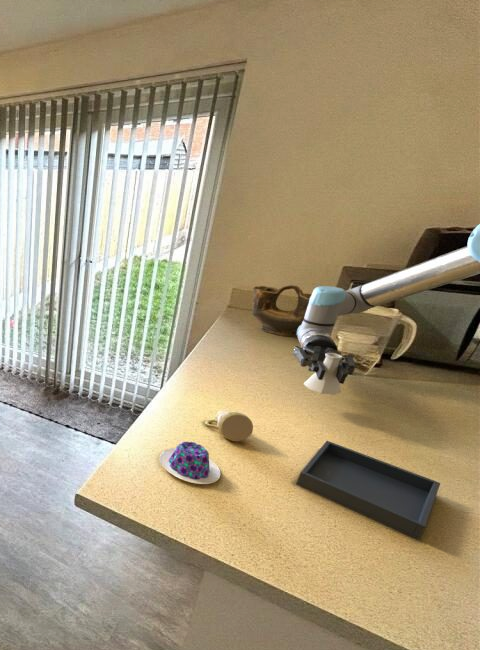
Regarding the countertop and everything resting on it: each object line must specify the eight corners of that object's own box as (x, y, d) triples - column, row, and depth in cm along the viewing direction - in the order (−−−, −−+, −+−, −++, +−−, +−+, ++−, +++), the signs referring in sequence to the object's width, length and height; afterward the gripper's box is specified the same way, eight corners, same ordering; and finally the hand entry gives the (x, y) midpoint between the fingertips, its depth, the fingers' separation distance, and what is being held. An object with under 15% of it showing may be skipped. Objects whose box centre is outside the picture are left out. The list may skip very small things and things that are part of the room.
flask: (297, 383, 109) (308, 350, 105) (321, 382, 109) (334, 349, 105) (320, 396, 102) (333, 361, 98) (346, 394, 102) (360, 360, 98)
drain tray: (433, 495, 78) (440, 482, 77) (417, 540, 69) (425, 526, 67) (321, 452, 91) (326, 440, 90) (295, 484, 82) (300, 472, 81)
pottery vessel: (238, 327, 168) (250, 281, 160) (248, 321, 174) (260, 277, 167) (311, 343, 150) (329, 293, 142) (319, 337, 156) (336, 288, 148)
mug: (233, 421, 104) (257, 403, 96) (233, 453, 98) (259, 437, 90) (204, 411, 105) (225, 392, 97) (203, 442, 100) (226, 425, 92)
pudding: (169, 484, 83) (173, 464, 81) (152, 449, 94) (156, 430, 91) (230, 489, 81) (236, 469, 79) (206, 452, 92) (211, 434, 90)
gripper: (350, 363, 114) (371, 398, 96) (280, 352, 123) (287, 382, 105) (359, 339, 111) (383, 370, 93) (287, 330, 120) (296, 356, 102)
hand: (332, 376), depth 99 cm, fingers closed on flask, 3 cm apart
